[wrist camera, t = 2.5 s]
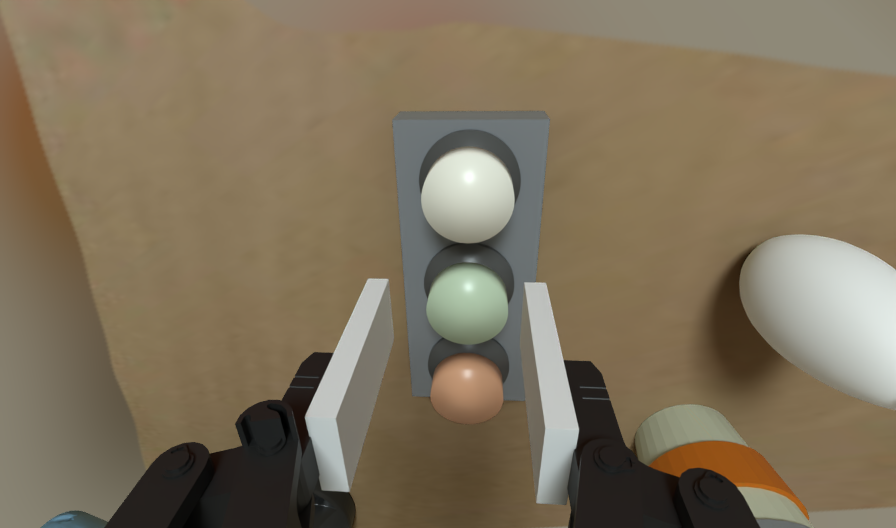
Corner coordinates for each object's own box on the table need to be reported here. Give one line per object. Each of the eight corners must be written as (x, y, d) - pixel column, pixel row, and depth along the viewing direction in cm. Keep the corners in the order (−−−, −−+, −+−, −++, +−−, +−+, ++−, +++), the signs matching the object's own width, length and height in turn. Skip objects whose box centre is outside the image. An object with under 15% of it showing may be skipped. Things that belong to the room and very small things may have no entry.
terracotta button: (434, 403, 38) (431, 422, 36) (432, 351, 35) (429, 369, 33) (501, 407, 37) (501, 426, 36) (503, 354, 35) (504, 371, 33)
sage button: (430, 326, 34) (427, 343, 32) (428, 261, 31) (424, 275, 30) (505, 328, 34) (506, 345, 32) (508, 262, 31) (510, 277, 29)
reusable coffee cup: (664, 495, 49) (731, 670, 35) (589, 434, 45) (632, 604, 32) (776, 440, 44) (902, 621, 30) (702, 368, 40) (807, 536, 27)
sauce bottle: (738, 204, 33) (971, 373, 17) (846, 218, 33) (1179, 401, 17) (698, 294, 37) (859, 500, 21) (794, 306, 37) (1028, 524, 21)
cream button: (426, 229, 30) (423, 242, 29) (423, 146, 28) (418, 154, 26) (510, 231, 30) (512, 244, 28) (515, 146, 27) (517, 155, 25)
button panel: (417, 373, 43) (411, 400, 40) (400, 111, 32) (390, 121, 29) (522, 377, 42) (525, 405, 39) (544, 111, 31) (550, 121, 28)
